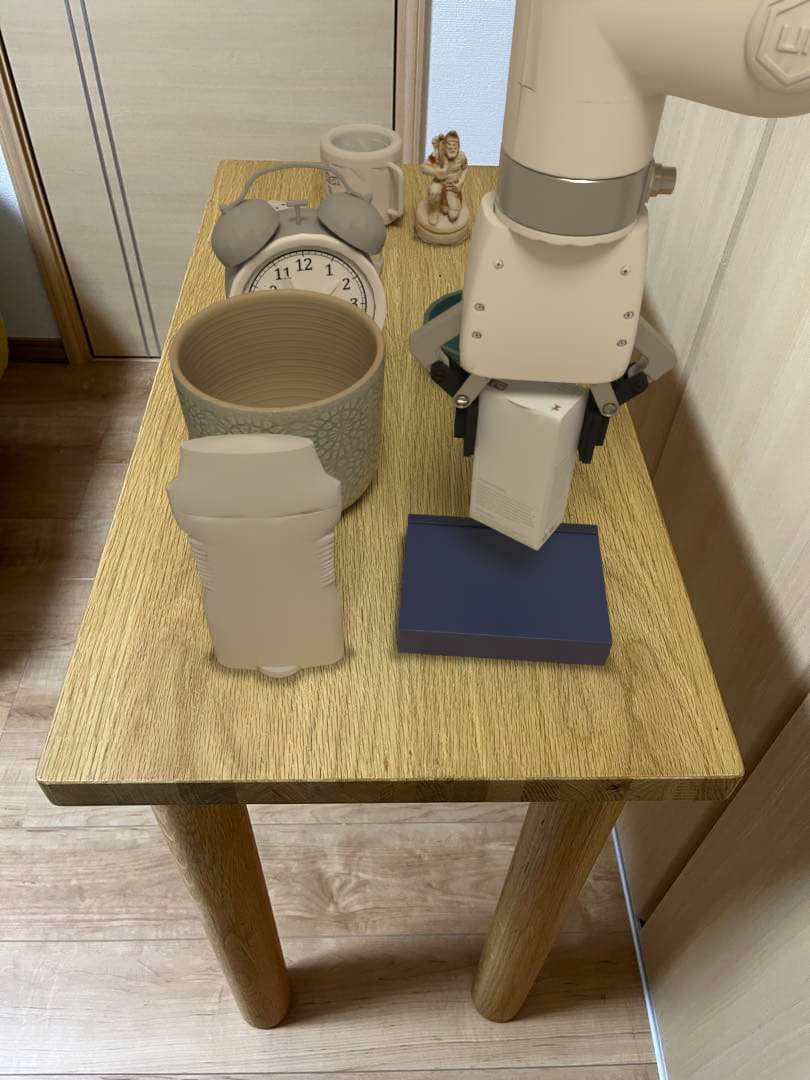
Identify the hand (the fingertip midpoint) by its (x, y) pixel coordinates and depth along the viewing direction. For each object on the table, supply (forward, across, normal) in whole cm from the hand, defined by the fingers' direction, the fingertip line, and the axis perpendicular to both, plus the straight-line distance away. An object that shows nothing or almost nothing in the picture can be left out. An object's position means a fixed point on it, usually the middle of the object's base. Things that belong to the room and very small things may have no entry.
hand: (525, 445), depth 55 cm
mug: (+17, +17, -66) cm, 70 cm away
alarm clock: (+17, +20, -30) cm, 40 cm away
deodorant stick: (+17, +17, +7) cm, 25 cm away
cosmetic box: (+7, 0, 0) cm, 7 cm away
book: (+17, 0, 0) cm, 17 cm away
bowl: (+17, +1, -34) cm, 38 cm away
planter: (+17, +19, -12) cm, 28 cm away
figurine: (+17, +7, -62) cm, 65 cm away
